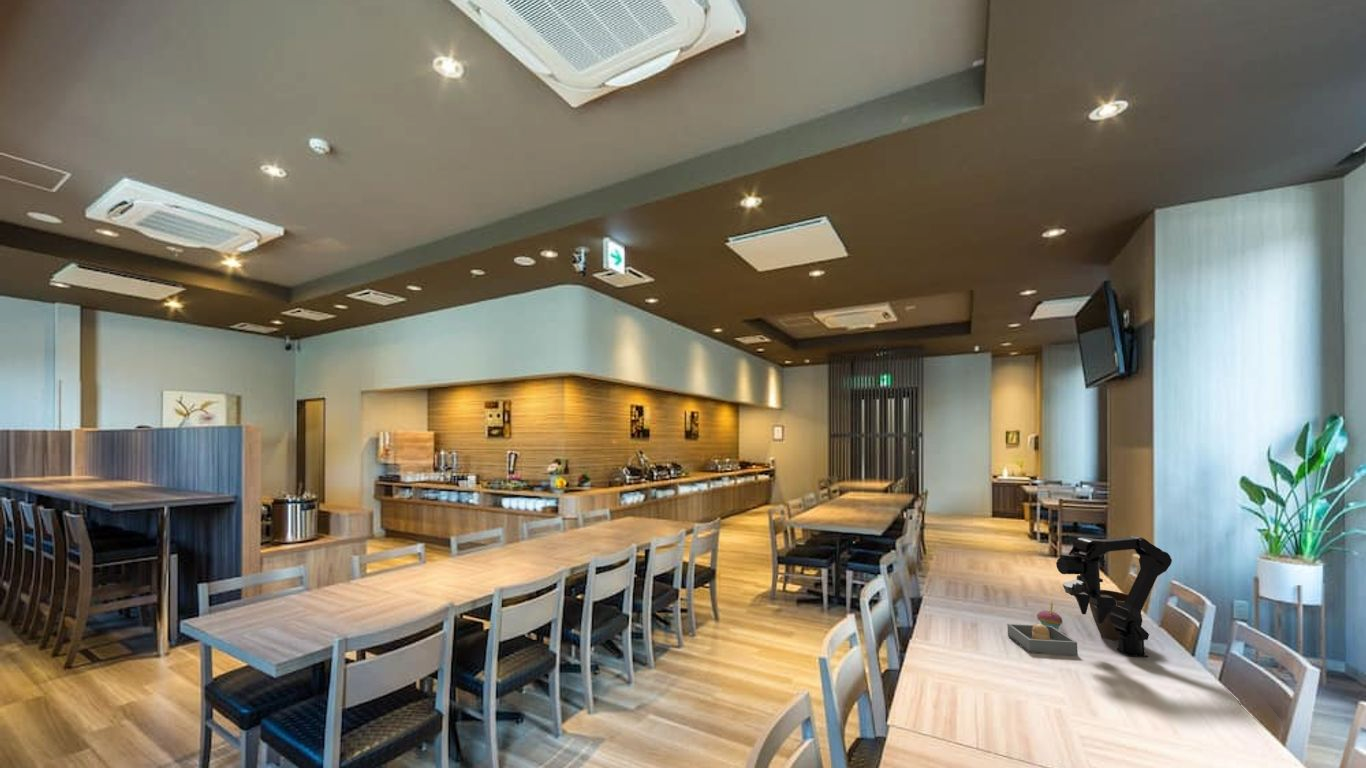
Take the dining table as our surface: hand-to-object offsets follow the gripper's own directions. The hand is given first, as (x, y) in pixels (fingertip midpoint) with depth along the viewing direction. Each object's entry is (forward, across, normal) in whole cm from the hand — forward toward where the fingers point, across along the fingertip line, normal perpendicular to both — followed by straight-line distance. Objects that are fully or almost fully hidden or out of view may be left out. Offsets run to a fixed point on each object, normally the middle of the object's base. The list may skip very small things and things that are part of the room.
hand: (1091, 618), depth 194 cm
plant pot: (+12, -17, +17) cm, 27 cm away
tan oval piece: (+11, -5, -15) cm, 19 cm away
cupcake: (+12, -22, -3) cm, 25 cm away
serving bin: (+12, -5, -15) cm, 20 cm away
